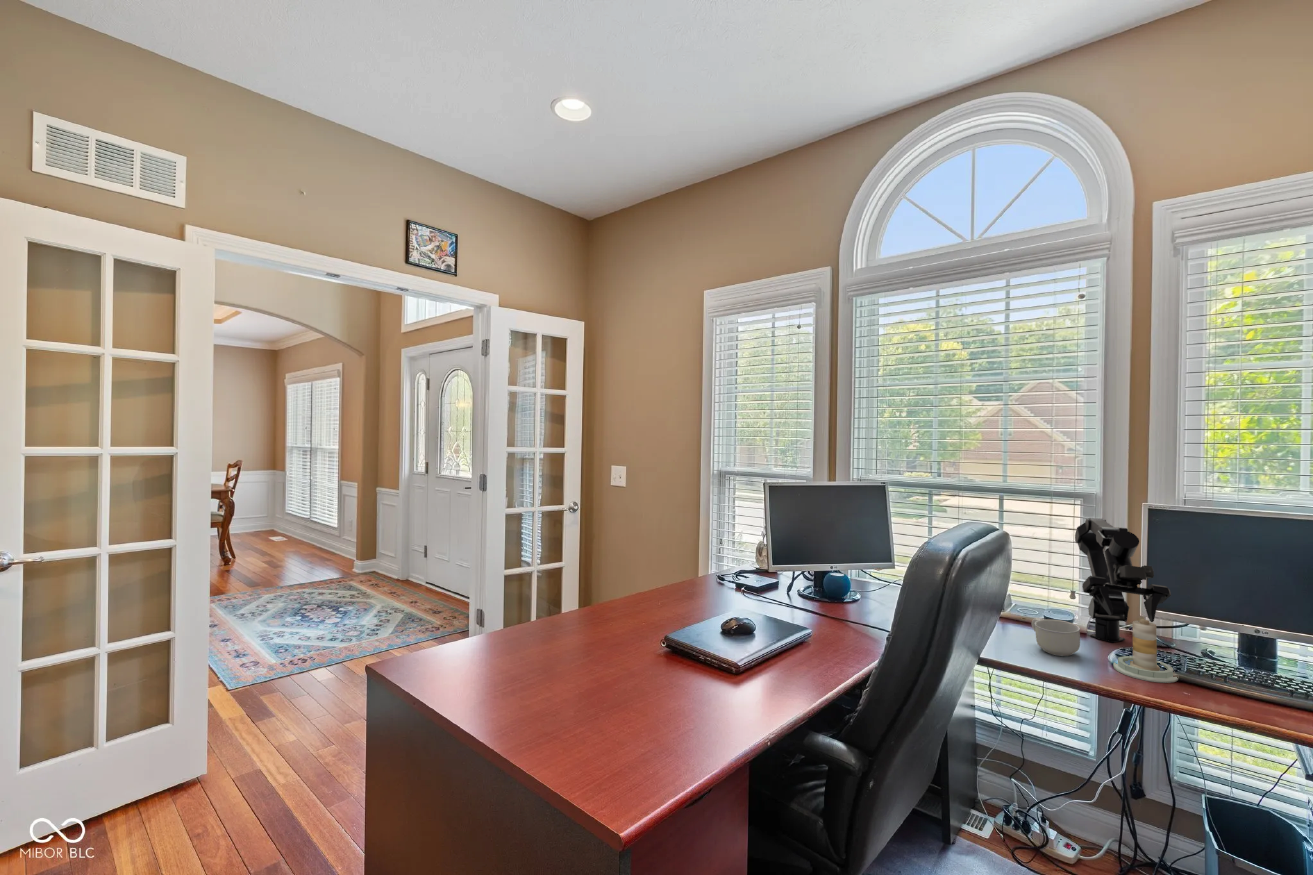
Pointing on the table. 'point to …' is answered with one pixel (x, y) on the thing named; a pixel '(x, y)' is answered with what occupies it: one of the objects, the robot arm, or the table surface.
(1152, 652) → the bead column
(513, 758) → the table surface
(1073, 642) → the teacup
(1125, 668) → the ring dish
